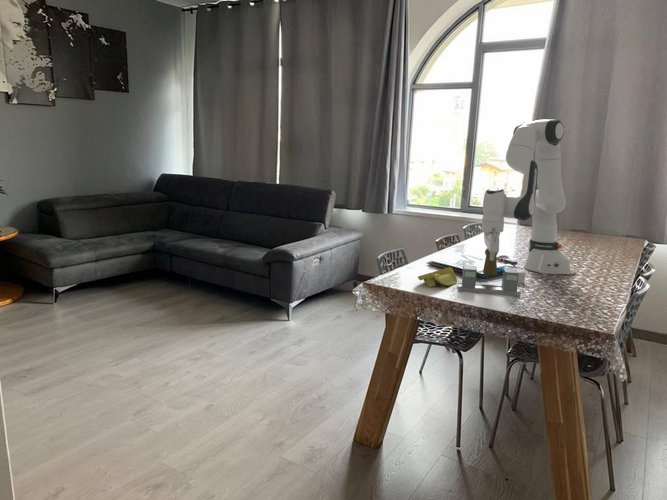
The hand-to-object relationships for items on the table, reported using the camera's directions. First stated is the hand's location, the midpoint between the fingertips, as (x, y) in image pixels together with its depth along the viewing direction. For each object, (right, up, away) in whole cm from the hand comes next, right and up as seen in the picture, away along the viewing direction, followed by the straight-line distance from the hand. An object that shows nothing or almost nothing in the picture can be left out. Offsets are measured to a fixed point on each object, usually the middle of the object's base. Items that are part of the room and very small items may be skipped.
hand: (490, 258), depth 211 cm
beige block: (+13, -10, +6) cm, 18 cm away
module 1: (-12, -11, -8) cm, 18 cm away
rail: (-4, -13, -10) cm, 17 cm away
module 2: (+4, -12, -12) cm, 17 cm away
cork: (0, -6, +1) cm, 7 cm away
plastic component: (-24, -11, -1) cm, 26 cm away
